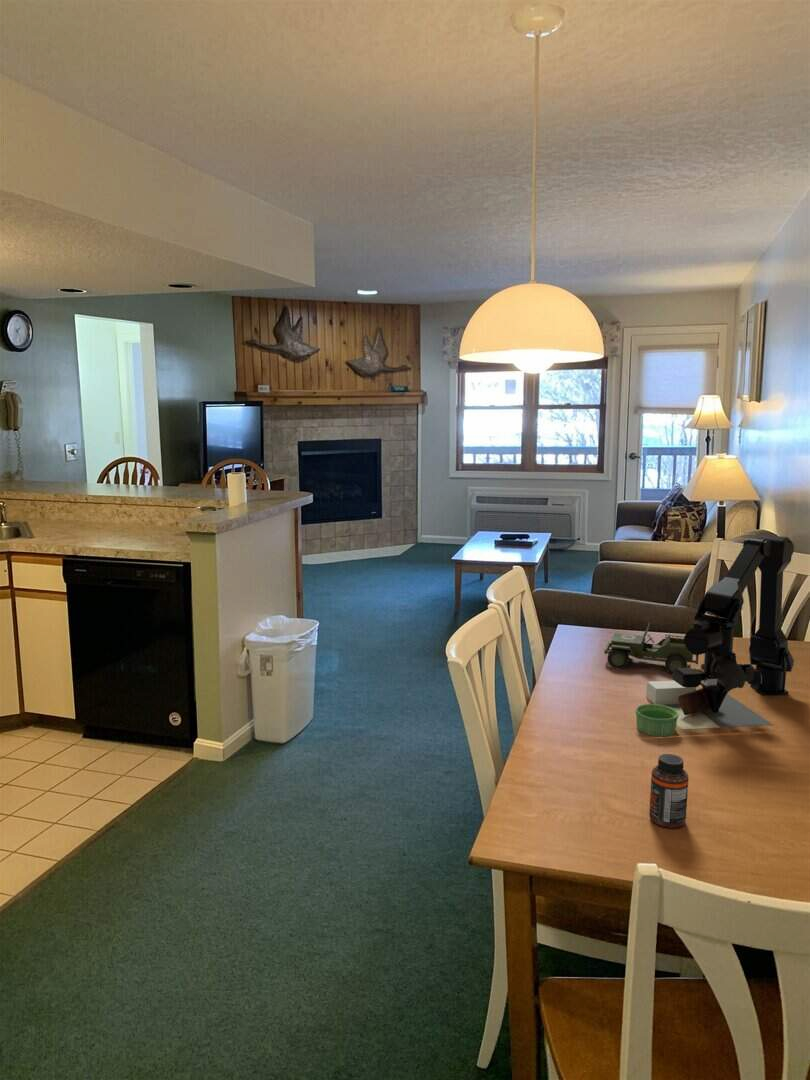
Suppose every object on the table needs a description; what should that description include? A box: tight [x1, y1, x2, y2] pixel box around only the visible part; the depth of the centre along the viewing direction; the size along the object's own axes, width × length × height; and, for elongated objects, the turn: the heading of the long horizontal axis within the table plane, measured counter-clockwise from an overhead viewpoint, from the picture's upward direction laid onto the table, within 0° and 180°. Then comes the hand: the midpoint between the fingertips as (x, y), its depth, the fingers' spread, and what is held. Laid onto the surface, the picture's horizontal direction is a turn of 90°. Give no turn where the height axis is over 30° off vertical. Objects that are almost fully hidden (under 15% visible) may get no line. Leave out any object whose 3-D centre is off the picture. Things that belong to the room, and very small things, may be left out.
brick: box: [678, 687, 711, 715], centre depth 180 cm, size 11×4×5 cm, turn 127°
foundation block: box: [645, 680, 697, 705], centre depth 188 cm, size 10×5×4 cm, turn 97°
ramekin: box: [635, 703, 679, 738], centre depth 171 cm, size 9×9×4 cm
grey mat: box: [646, 693, 774, 730], centre depth 182 cm, size 22×20×1 cm
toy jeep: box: [604, 622, 699, 675], centre depth 214 cm, size 12×25×11 cm, turn 69°
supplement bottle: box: [648, 753, 689, 829], centre depth 132 cm, size 6×6×11 cm
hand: (714, 712), depth 178 cm, fingers closed
